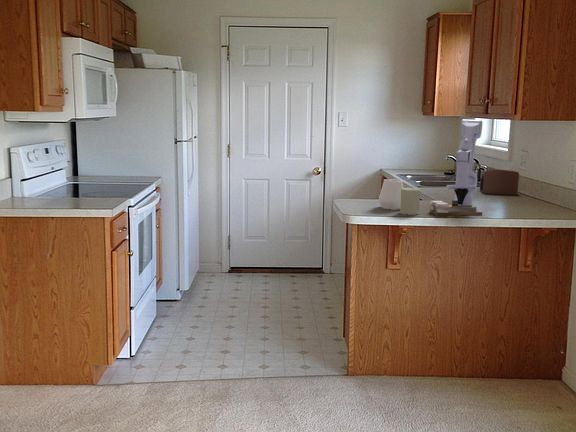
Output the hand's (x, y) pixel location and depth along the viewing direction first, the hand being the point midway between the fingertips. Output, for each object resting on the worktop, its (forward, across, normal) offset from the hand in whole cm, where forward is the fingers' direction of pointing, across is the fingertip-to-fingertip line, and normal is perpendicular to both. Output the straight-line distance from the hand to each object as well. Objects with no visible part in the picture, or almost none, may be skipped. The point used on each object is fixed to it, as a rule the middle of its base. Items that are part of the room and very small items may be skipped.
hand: (460, 204), depth 307 cm
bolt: (+3, -6, 0) cm, 7 cm away
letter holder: (+5, +53, +63) cm, 83 cm away
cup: (+5, -28, +17) cm, 33 cm away
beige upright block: (+5, -24, +3) cm, 25 cm away
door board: (+4, -2, 0) cm, 5 cm away
